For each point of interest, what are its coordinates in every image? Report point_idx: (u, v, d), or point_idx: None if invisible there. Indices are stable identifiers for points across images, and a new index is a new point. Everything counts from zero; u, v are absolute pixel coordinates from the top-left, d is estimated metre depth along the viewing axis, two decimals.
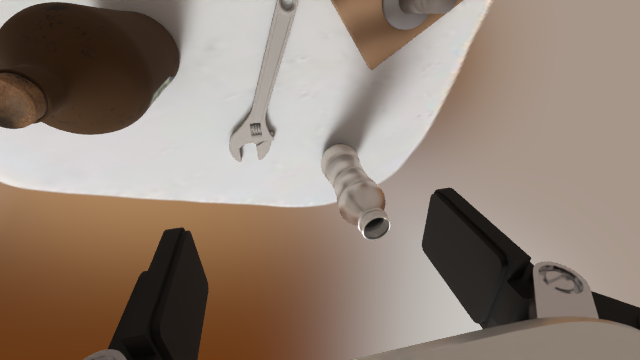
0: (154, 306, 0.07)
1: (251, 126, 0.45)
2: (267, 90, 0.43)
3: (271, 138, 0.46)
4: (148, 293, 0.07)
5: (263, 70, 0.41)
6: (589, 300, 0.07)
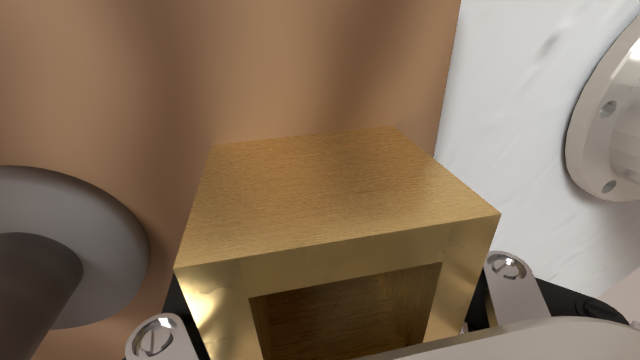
0: None
1: None
2: None
3: None
4: None
5: None
6: (532, 282, 0.08)
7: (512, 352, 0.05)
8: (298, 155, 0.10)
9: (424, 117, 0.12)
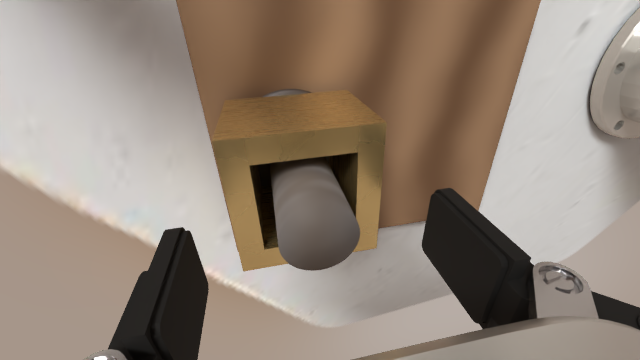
0: (154, 306, 0.07)
1: None
2: None
3: None
4: (148, 293, 0.07)
5: None
6: (589, 300, 0.07)
7: (512, 352, 0.05)
8: (281, 103, 0.15)
9: (511, 68, 0.20)
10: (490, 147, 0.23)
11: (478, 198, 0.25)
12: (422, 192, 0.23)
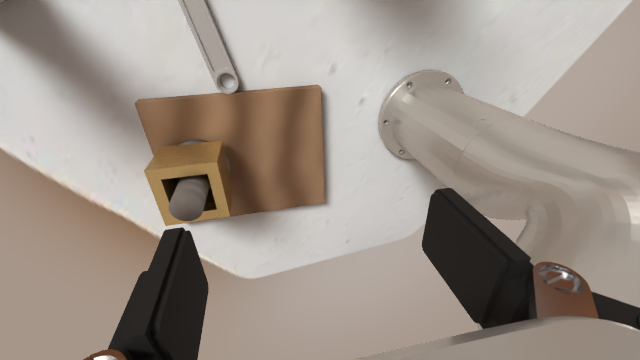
0: (154, 306, 0.07)
1: None
2: None
3: None
4: (148, 293, 0.07)
5: None
6: (588, 300, 0.07)
7: (512, 352, 0.05)
8: (184, 150, 0.33)
9: (316, 125, 0.37)
10: (319, 165, 0.40)
11: (322, 194, 0.43)
12: (284, 191, 0.41)
